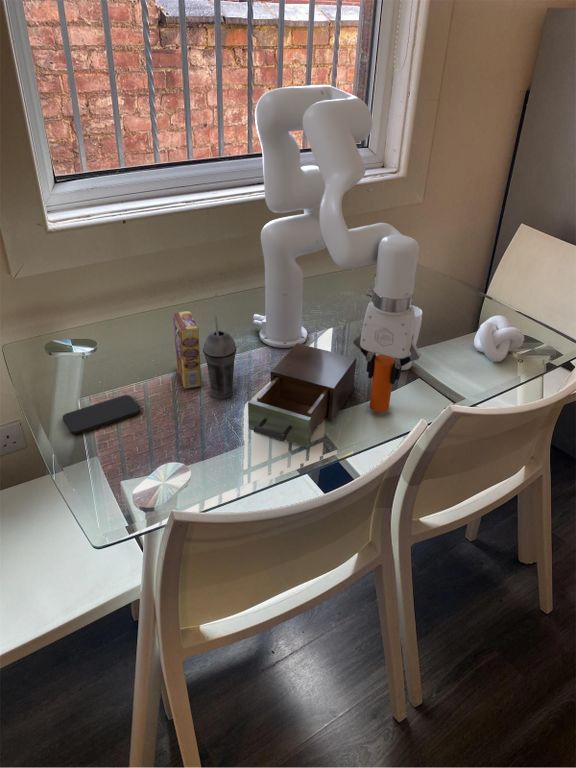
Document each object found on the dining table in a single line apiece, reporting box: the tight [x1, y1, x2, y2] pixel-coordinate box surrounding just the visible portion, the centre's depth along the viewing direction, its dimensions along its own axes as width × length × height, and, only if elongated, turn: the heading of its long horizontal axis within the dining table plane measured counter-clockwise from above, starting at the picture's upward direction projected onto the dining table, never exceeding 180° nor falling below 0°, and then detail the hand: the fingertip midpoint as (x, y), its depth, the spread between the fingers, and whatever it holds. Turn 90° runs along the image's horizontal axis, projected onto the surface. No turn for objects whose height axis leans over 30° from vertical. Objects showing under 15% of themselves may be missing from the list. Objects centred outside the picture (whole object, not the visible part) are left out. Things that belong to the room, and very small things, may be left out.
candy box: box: [172, 311, 202, 389], centre depth 138 cm, size 9×4×15 cm, turn 20°
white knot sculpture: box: [473, 314, 525, 363], centre depth 152 cm, size 11×12×9 cm
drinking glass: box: [393, 304, 423, 371], centre depth 144 cm, size 7×7×15 cm
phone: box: [62, 394, 141, 435], centre depth 129 cm, size 7×1×15 cm
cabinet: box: [270, 343, 357, 422], centre depth 134 cm, size 14×15×9 cm
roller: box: [369, 354, 395, 413], centre depth 129 cm, size 4×4×12 cm
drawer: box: [247, 376, 330, 449], centre depth 124 cm, size 17×13×7 cm
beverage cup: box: [202, 315, 238, 400], centre depth 131 cm, size 7×7×20 cm
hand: (382, 377), depth 128 cm, fingers closed on roller, 4 cm apart
